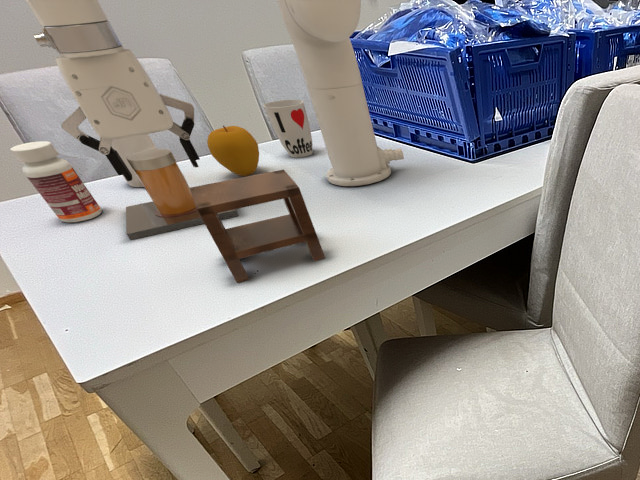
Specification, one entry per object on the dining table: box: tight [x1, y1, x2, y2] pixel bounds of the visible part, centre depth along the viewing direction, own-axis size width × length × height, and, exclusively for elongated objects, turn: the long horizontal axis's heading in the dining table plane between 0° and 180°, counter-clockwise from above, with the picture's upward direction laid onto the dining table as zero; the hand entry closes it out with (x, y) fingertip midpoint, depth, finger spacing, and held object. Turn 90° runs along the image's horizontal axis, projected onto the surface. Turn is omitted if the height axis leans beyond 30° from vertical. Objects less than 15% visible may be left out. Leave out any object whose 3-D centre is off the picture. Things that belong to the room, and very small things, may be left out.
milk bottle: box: [92, 127, 157, 188], centre depth 84 cm, size 8×8×20 cm
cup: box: [262, 99, 314, 158], centre depth 100 cm, size 8×8×10 cm
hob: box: [125, 201, 239, 241], centre depth 78 cm, size 16×14×1 cm
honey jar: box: [126, 148, 196, 215], centre depth 75 cm, size 6×6×8 cm
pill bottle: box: [10, 140, 103, 223], centre depth 75 cm, size 6×6×11 cm
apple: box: [206, 124, 260, 177], centre depth 91 cm, size 9×9×9 cm
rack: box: [189, 168, 326, 283], centre depth 62 cm, size 12×9×10 cm
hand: (163, 171), depth 74 cm, fingers open, 9 cm apart
